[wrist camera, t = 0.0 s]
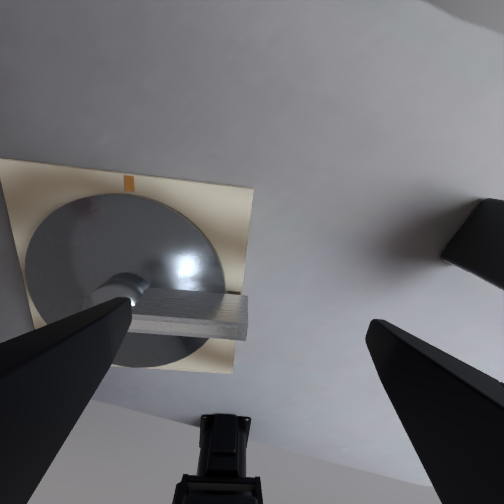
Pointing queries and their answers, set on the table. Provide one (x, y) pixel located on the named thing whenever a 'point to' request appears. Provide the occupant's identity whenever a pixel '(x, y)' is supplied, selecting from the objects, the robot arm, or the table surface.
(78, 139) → the table surface
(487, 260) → the battery charger
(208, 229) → the dial board
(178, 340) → the dial
